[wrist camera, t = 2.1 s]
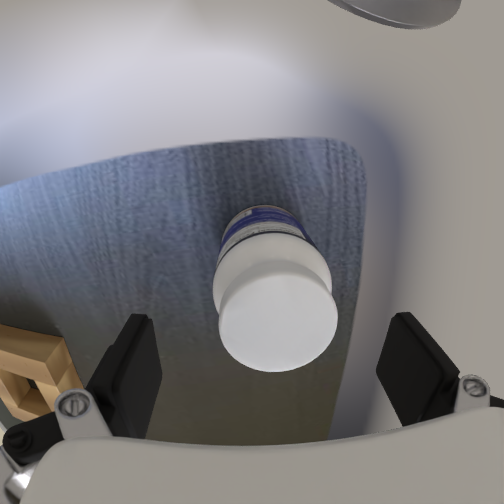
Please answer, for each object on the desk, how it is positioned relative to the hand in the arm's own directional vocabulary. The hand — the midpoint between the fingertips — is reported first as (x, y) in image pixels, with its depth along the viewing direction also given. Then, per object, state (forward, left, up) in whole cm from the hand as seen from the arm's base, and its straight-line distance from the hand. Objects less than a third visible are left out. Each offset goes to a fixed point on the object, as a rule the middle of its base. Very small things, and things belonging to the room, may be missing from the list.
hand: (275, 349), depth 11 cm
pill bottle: (-1, 0, -11) cm, 11 cm away
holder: (+15, -25, -11) cm, 31 cm away
